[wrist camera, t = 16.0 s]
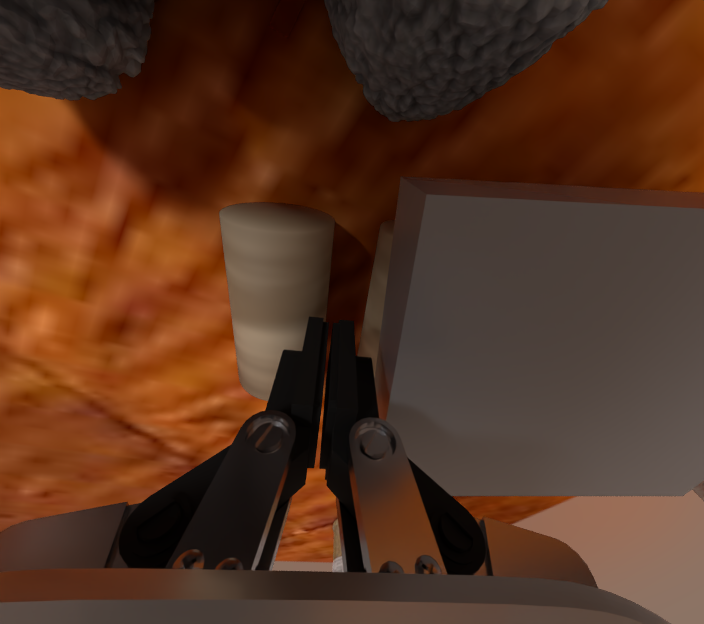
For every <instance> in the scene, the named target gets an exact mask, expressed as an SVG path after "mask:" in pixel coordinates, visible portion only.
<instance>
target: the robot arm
mask: <svg viewBox="0 0 704 624" xmlns="http://www.w3.org/2000/svg"><path fill="white" fill-rule="evenodd" d="M323 319H324V318H320V317H310V316H309V319H308V324H307V329H306V334H305V339H304V344H303V349H302V351H296V350H285V349H284V350H283V352H282V355H281V359H280V362H279V366H278V369H277V372H276V376H275V379H274V383H273V386H272V390H271V393H270V397H269V400H268V403H267V407H266V410H265V411H262V412H259V413H257V414H255V415H253V416H251V417H250V418H249V419H248V420H246V421H245V423H244V424H243V425H242V427H241V428H240V430H239V432H238V434H237V436H236V438H235V439H234V441H233V443H232V445H230V446H228V447H227V448H225V449H224V450H222V451H221V452H219V453H217V454H216V455H214V456H213V457H211V458H209V459H208V460H206V461H205V462H203V463H202V464H200V465H198V466H197V467H195V468H194V469H192V470H191V471H189V472H187V473H186V474H184V475H183V476H181V477H179V478H178V479H176V480H175V481H173V482H172V483H170V484H168V485H167V486H165V487H164V488H162V489H161V490H159V491H157V492H156V493H154V494H153V495H151V496H150V497H148V498H147V499H146V500H144V501H143V502H142V503H139V504H133V505H129V504H128V502H123V503H118V504H113V505H107V506H102V507H97V508H91V509H86V510H81V511H75V512H70V513H65V514H59V515H54V516H49V517H43V518H38V519H33V520H28V521H24V522H21V523H18V524H15V525H12V526H10V527H8V528H7V529H5V530H3V531H1V532H0V624H671V623H669V622H668V621H666V620H664V619H663V618H661V617H660V616H658V615H656V614H655V613H653V612H651V611H649V610H647V609H645V608H643V607H642V606H640V605H638V604H636V603H634V602H632V601H630V600H627V599H625V598H623V597H620V596H618V595H616V594H613V593H611V592H608V591H605V590H601V589H598V587H597V584H596V582H595V579H594V577H593V575H592V573H591V572H590V570H589V568H588V566H587V564H586V563H585V562H584V561H583V559H582V558H581V557H580V556H579V554H578V553H577V552H575V551H574V550H573V549H572V548H571V547H570V546H568V545H567V544H566V543H564V542H562V541H560V540H557V539H555V538H552V537H549V536H546V535H542V534H539V533H536V532H533V531H529V530H526V529H523V528H520V527H516V526H513V525H510V524H507V523H503V522H500V521H497V520H494V519H490V518H487V517H483V518H482V519H478V518H475V517H473V516H472V515H471V514H470V513H469V512H468V511H467V510H466V509H465V508H464V507H463V506H462V505H461V504H460V503H459V502H457V501H456V500H455V499H454V498H453V497H452V496H451V495H450V494H448V493H447V492H446V491H445V490H444V489H443V488H442V487H440V486H439V485H438V484H437V483H436V482H435V481H434V480H433V479H431V478H430V477H429V476H428V475H427V474H426V473H425V472H424V471H422V470H421V469H420V468H419V467H418V466H417V465H416V464H415V463H413V462H412V461H411V460H410V459H409V458H408V457H407V455H406V452H405V449H404V446H403V443H402V440H401V438H400V436H399V434H398V432H397V430H396V429H395V428H394V427H393V426H392V425H391V424H389V423H388V422H386V421H385V420H382V419H379V412H378V404H377V396H376V388H375V380H374V371H373V363H372V358H371V357H361V356H356V353H355V333H354V321H349V320H339V323H333V329H332V337H331V345H330V353H329V361H328V369H327V377H326V388H325V401H324V414H323V427H322V440H321V453H320V467H319V469H326V474H325V480H327V486H328V488H329V489H330V490H331V491H332V492H333V494H334V495H335V496H336V507H337V516H338V525H339V534H340V543H341V552H342V561H343V571H344V572H311V571H310V572H309V571H272V567H273V564H274V561H275V557H276V554H277V550H278V547H279V543H280V540H281V536H282V533H283V529H284V526H285V522H286V519H287V515H288V512H289V508H290V505H291V501H292V496H293V495H294V494H295V493H296V492H297V491H298V490H299V489H300V488H302V487H303V486H304V485H305V481H306V475H307V468H314V465H315V457H316V449H317V440H318V432H319V424H320V416H321V407H322V397H323V385H324V374H325V362H326V350H327V339H328V327H329V322H323Z"/></svg>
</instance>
